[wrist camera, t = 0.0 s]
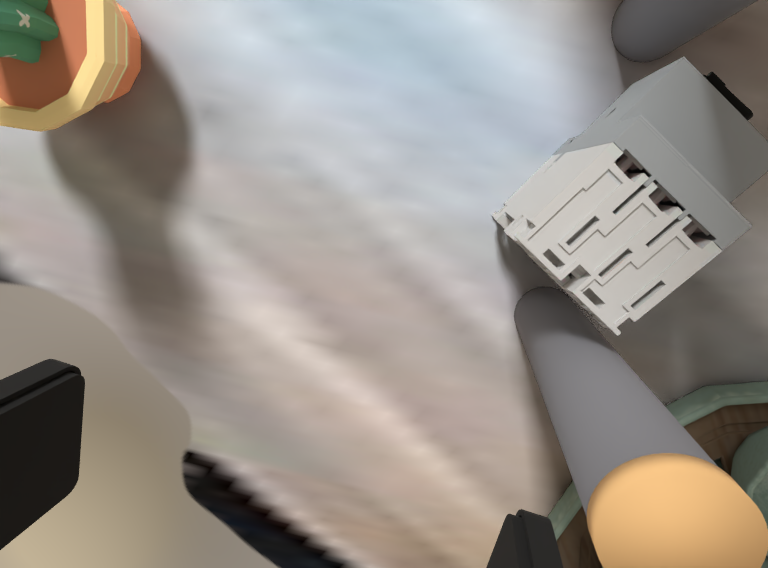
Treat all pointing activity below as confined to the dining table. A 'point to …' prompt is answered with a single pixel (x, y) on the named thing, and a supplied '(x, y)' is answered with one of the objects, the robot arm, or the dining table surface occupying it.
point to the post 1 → (666, 24)
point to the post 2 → (632, 453)
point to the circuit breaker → (641, 194)
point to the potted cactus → (63, 59)
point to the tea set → (714, 435)
